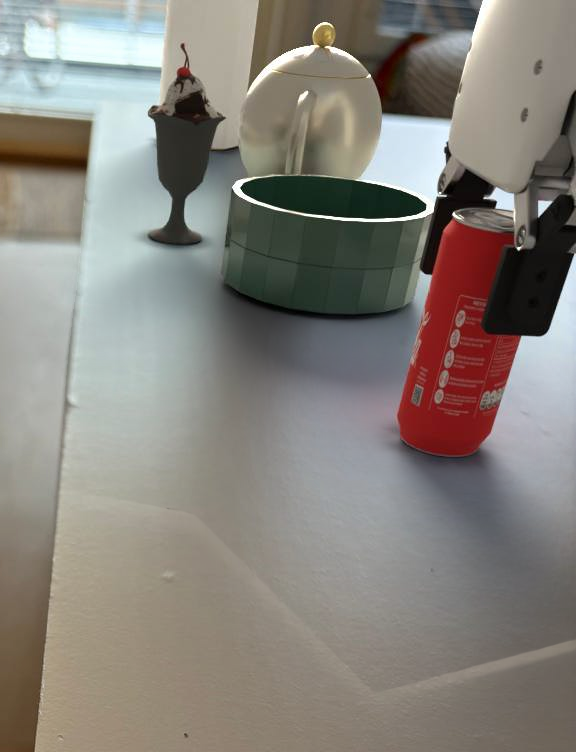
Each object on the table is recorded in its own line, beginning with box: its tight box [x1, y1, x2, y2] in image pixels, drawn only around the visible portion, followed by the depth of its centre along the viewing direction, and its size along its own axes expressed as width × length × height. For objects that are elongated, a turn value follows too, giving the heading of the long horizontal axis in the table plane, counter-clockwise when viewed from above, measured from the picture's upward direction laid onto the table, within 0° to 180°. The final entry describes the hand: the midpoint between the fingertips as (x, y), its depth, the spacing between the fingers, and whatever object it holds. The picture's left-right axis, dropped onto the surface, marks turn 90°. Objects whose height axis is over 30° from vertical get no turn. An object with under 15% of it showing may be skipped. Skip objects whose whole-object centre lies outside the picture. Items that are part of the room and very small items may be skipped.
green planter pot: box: [220, 174, 435, 315], centre depth 76 cm, size 15×15×7 cm
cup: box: [158, 0, 260, 151], centre depth 122 cm, size 11×11×18 cm
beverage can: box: [396, 207, 539, 458], centre depth 52 cm, size 5×5×12 cm
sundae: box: [147, 43, 226, 245], centre depth 84 cm, size 7×7×15 cm
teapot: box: [238, 22, 383, 179], centre depth 93 cm, size 18×14×16 cm
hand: (477, 301), depth 51 cm, fingers open, 9 cm apart
